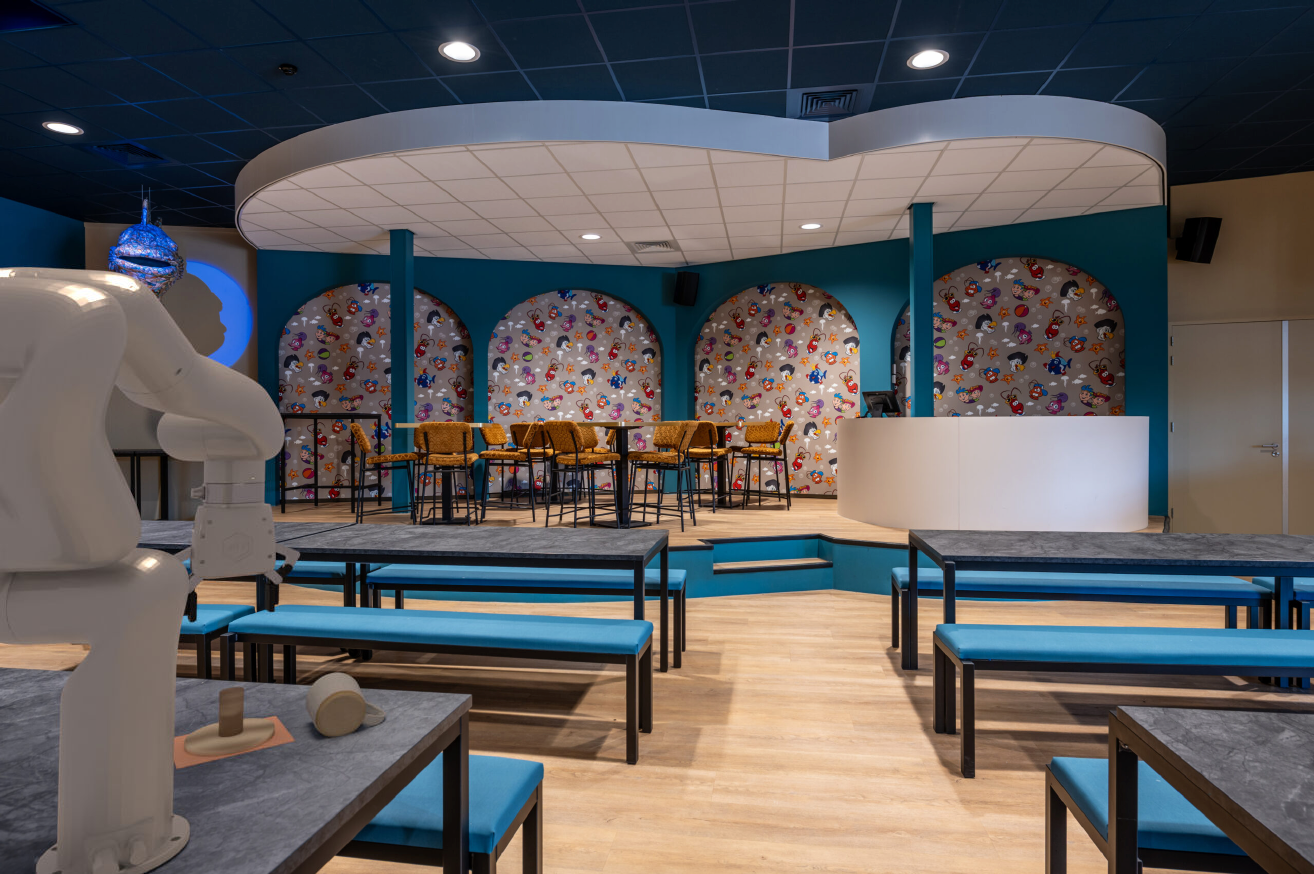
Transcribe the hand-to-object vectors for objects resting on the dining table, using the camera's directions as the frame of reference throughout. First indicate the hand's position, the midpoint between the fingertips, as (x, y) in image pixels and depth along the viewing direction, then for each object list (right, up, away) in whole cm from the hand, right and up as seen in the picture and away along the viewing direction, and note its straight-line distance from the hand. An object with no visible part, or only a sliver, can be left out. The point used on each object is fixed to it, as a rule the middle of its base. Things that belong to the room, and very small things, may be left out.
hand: (231, 615), depth 101 cm
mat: (0, -18, 0) cm, 18 cm away
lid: (0, -18, 0) cm, 18 cm away
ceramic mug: (+14, -19, +6) cm, 24 cm away
